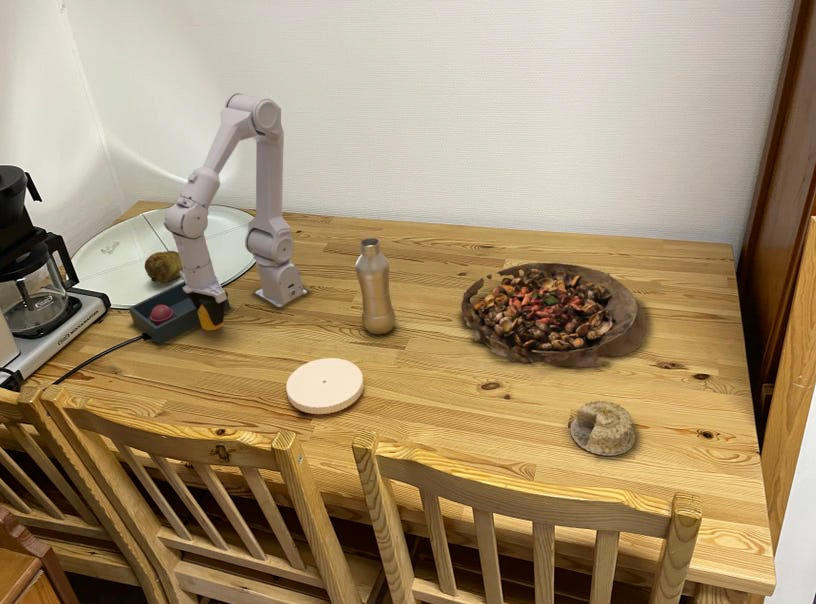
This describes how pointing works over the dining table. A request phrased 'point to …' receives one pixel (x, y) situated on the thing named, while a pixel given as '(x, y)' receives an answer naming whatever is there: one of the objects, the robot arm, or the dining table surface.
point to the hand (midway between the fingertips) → (211, 318)
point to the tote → (180, 307)
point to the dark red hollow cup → (161, 314)
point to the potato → (163, 266)
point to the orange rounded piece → (206, 319)
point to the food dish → (556, 315)
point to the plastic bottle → (375, 287)
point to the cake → (603, 428)
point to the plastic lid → (325, 385)
